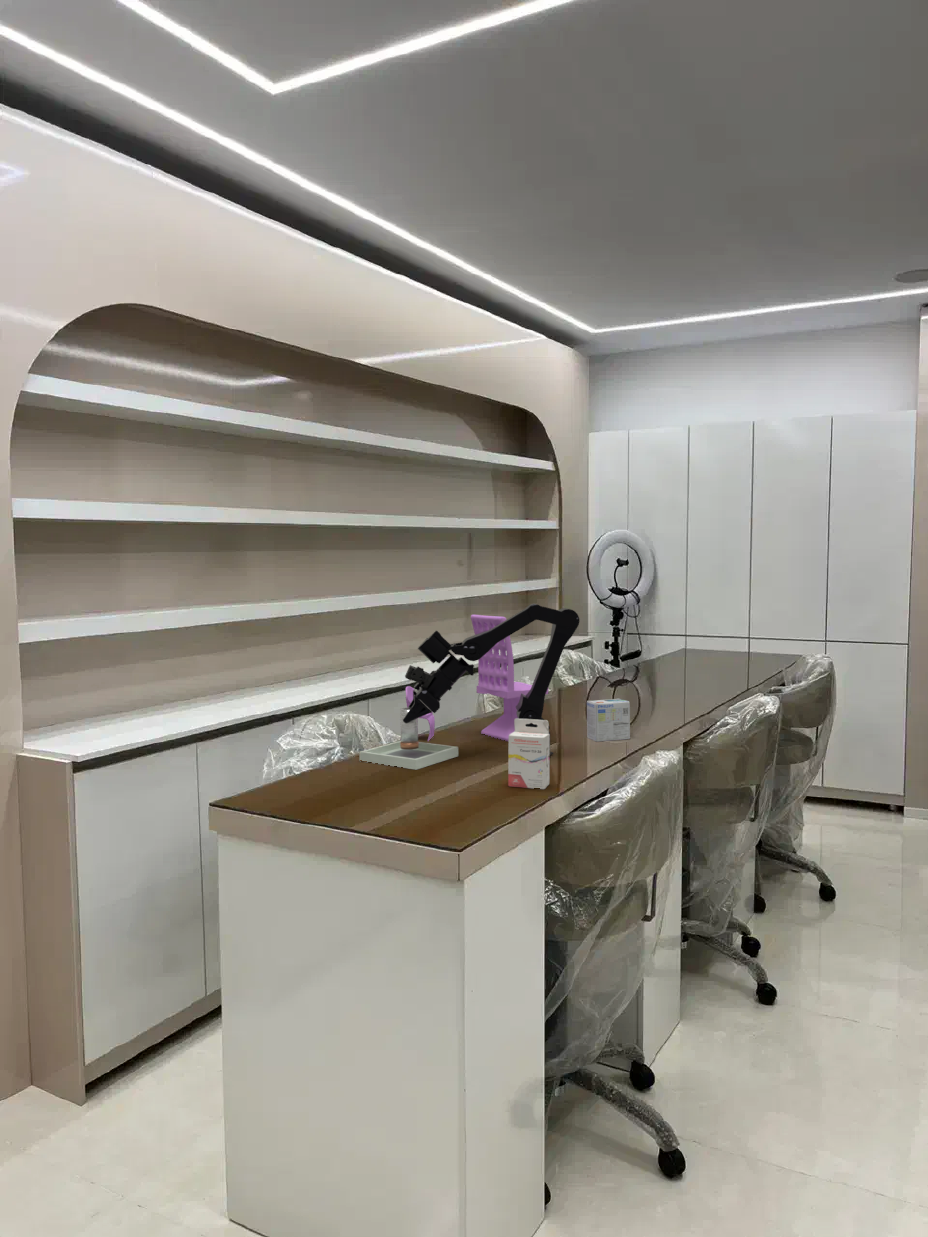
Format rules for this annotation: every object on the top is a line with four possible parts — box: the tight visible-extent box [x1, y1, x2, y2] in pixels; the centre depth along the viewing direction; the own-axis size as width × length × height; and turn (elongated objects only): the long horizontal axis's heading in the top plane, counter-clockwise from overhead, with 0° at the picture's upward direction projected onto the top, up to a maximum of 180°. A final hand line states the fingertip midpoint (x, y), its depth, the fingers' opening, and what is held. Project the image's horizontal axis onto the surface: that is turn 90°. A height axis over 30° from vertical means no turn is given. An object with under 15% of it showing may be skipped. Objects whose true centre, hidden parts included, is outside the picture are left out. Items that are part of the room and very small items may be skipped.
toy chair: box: [399, 685, 436, 742], centre depth 257 cm, size 8×9×15 cm
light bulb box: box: [586, 698, 631, 743], centre depth 254 cm, size 11×7×11 cm, turn 108°
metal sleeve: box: [399, 706, 420, 749], centre depth 231 cm, size 5×5×10 cm
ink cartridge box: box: [507, 718, 551, 790], centre depth 202 cm, size 9×5×15 cm, turn 71°
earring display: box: [470, 614, 549, 743], centre depth 259 cm, size 15×17×35 cm
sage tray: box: [358, 740, 459, 771], centre depth 231 cm, size 18×18×2 cm
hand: (403, 720), depth 231 cm, fingers closed on metal sleeve, 4 cm apart
